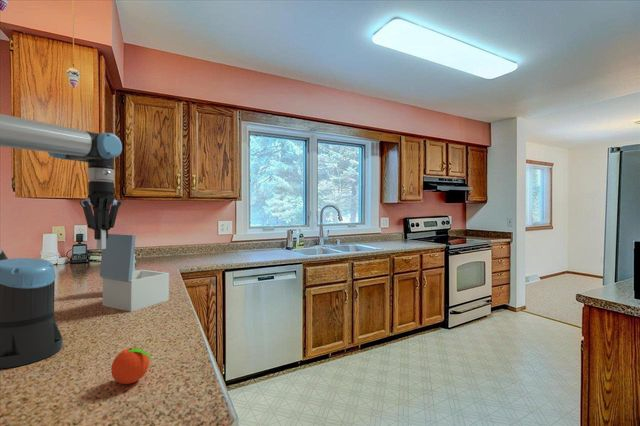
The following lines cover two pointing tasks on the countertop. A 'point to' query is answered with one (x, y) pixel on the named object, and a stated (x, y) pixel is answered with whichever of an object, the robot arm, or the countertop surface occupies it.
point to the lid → (118, 257)
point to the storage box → (136, 290)
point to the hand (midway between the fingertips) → (101, 248)
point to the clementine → (130, 365)
